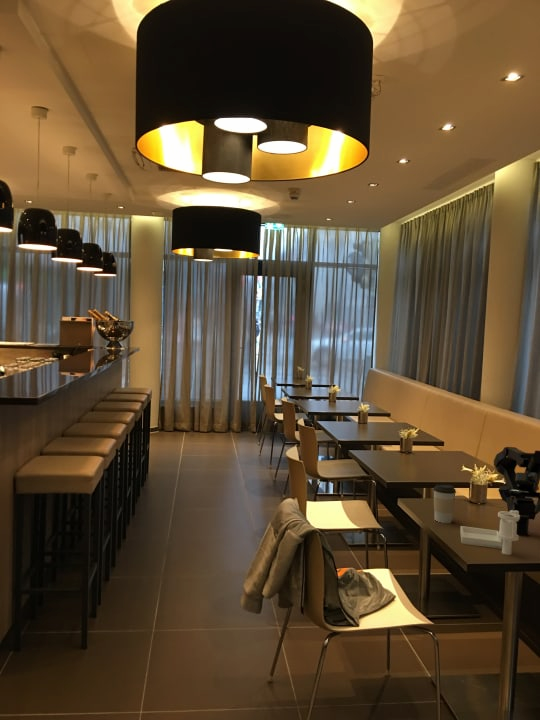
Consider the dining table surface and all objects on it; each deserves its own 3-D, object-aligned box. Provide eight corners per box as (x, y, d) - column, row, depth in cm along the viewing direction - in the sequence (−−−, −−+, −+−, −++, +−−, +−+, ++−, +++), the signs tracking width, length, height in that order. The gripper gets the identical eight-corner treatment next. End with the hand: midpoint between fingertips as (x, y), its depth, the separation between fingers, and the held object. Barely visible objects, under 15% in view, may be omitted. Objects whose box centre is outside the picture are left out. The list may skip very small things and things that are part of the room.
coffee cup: (456, 520, 241) (458, 484, 241) (451, 525, 234) (453, 488, 233) (434, 516, 246) (436, 480, 245) (429, 521, 238) (431, 484, 238)
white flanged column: (521, 556, 202) (524, 513, 201) (503, 557, 200) (506, 514, 200) (509, 549, 208) (511, 507, 208) (491, 549, 207) (494, 508, 206)
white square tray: (460, 532, 225) (460, 525, 225) (497, 537, 222) (497, 530, 222) (461, 543, 212) (462, 536, 212) (501, 548, 209) (501, 541, 208)
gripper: (499, 464, 220) (489, 494, 210) (552, 465, 208) (543, 498, 198) (507, 484, 225) (497, 516, 215) (559, 487, 212) (551, 520, 202)
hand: (521, 512), depth 207 cm, fingers open, 9 cm apart
